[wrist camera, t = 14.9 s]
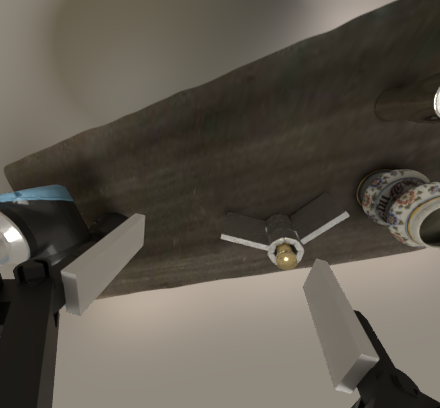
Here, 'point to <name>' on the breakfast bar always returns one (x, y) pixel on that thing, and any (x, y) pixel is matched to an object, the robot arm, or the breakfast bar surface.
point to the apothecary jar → (403, 205)
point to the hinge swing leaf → (312, 219)
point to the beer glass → (412, 102)
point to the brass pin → (285, 257)
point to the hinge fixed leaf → (260, 234)
